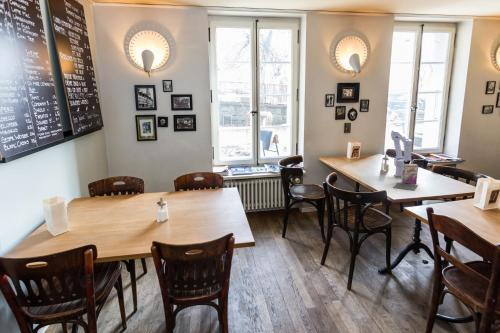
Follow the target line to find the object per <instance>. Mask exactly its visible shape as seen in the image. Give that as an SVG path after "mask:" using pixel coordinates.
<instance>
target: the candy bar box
mask: <svg viewBox="0 0 500 333" xmlns="http://www.w3.org/2000/svg"><path fill="white" fill-rule="evenodd" d="M418 171H419V165H418V164H416V163H415V164H414V163H409V164H403V171H402V177H401V182H400V183H405V184H417V181H418Z"/></svg>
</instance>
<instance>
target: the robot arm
mask: <svg viewBox="0 0 500 333" xmlns="http://www.w3.org/2000/svg"><path fill="white" fill-rule="evenodd" d="M390 137H391V138H390V139H391V140H392V141H393V145H394V150H395V155H396V157H395V158H394V159H393V160H394V161H393V163H394V164H393V165H394V166H395V174H394V175H393V176H395V177H400V178H402V171H403V164H411V161H412V147H413V146H414V140H413V139H410V138H409V137H408V136H407V135H405V133H404V130H403V129H397V130H396V129H395V130H394V129H392V130H391V132H390ZM400 141H401V142H402V143H403V148H404V149H403V152H402V147H401V142H400Z"/></svg>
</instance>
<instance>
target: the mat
mask: <svg viewBox="0 0 500 333" xmlns="http://www.w3.org/2000/svg"><path fill="white" fill-rule="evenodd" d="M418 186H419V185H418V184H414V183H402V182H397V183H395V185H394V186H393V187H392V188H393V189H400V190H406V191H412V192H414V191H416V189H417V187H418Z"/></svg>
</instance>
